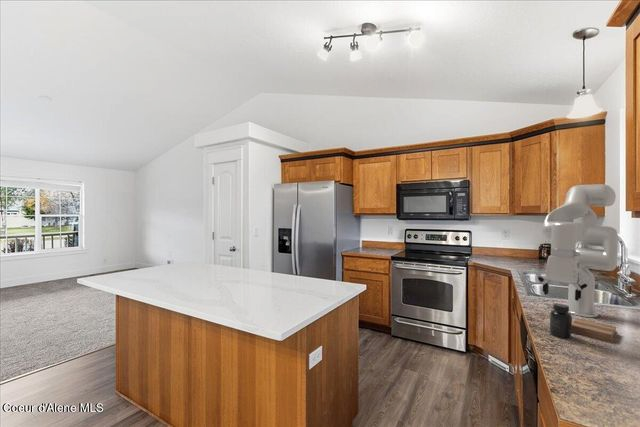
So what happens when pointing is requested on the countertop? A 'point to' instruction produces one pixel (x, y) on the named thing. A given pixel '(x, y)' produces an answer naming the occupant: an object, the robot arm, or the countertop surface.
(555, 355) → the countertop surface
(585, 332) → the walnut pedestal
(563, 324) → the supplement bottle
